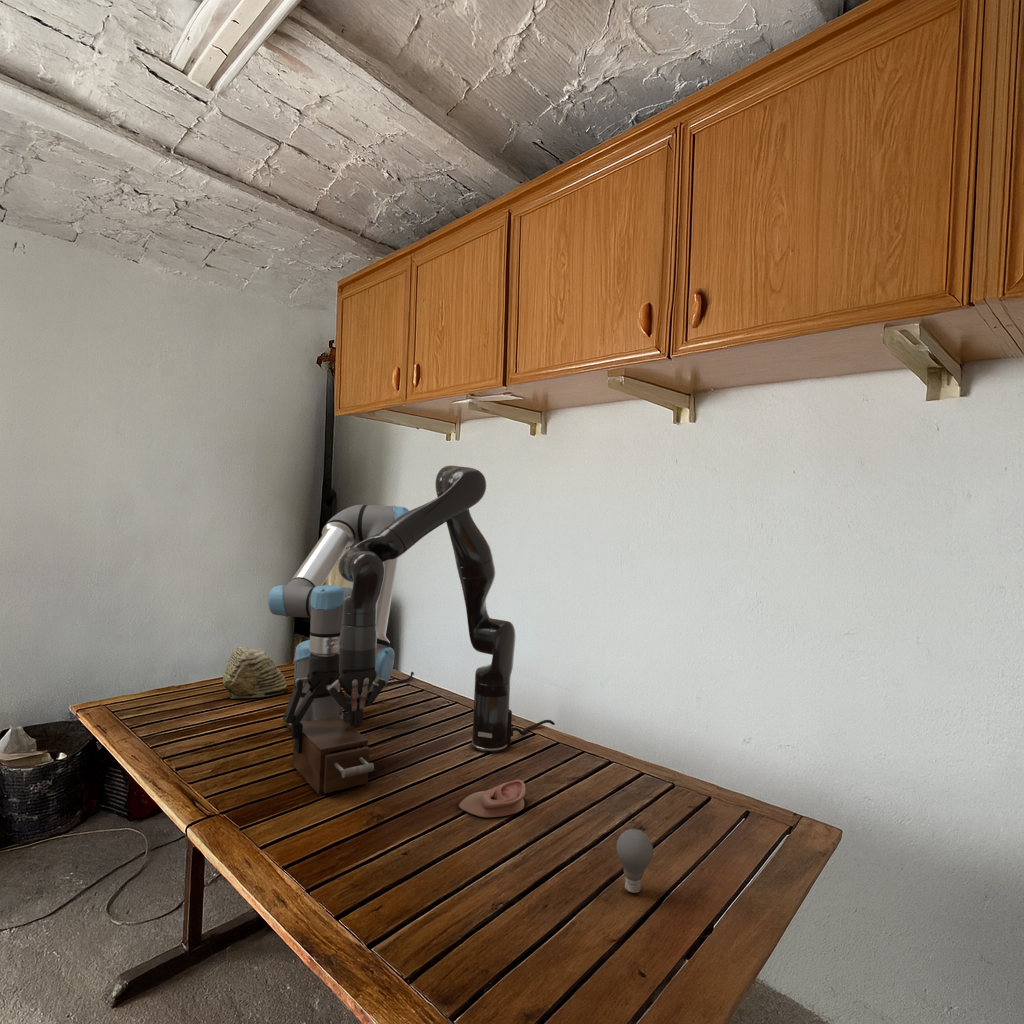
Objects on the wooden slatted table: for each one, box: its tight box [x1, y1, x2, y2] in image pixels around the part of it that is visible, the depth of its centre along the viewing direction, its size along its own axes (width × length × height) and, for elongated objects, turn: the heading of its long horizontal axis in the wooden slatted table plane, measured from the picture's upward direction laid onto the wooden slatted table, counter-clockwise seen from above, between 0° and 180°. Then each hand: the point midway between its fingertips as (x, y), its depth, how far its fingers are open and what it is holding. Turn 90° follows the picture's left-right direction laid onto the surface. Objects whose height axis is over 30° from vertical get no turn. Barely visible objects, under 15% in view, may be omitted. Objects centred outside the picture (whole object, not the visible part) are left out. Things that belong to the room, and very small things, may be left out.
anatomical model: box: [458, 779, 527, 818], centre depth 133 cm, size 13×4×12 cm
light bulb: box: [615, 828, 654, 894], centre depth 106 cm, size 6×6×10 cm
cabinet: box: [292, 716, 369, 796], centre depth 145 cm, size 18×11×10 cm, turn 37°
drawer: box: [324, 746, 375, 794], centre depth 140 cm, size 22×10×8 cm, turn 37°
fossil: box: [222, 646, 288, 699], centre depth 198 cm, size 9×18×15 cm, turn 132°
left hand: (322, 746), depth 148 cm, fingers closed on cabinet, 11 cm apart
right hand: (355, 726), depth 133 cm, fingers closed
